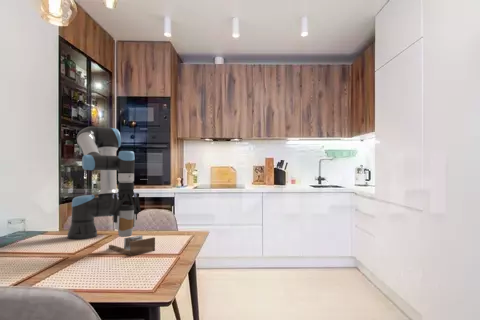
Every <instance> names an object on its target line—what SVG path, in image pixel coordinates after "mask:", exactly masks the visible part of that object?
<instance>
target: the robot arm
mask: <svg viewBox="0 0 480 320" xmlns="http://www.w3.org/2000/svg"><path fill="white" fill-rule="evenodd" d="M76 143H77V145H78V146H79V147H80V148H81V151H82V153H83V155H82V159H81V165H82V169H83V170H85V171H86V170H87V171H88V170H89V171H100V192H98V194H97V196H95V194H85V195H79V196H75V197H73V198H72V200H71V219H70V220H71V223H70V226H69V228H68V229H69V230H68V232H67V239H70V240H85V239H91V238H95V237H97V236H98V231H97V228H96V225H95V218H104V217H112V221H113V223H114V230H116V231H118V230H119V216H117V215H118V213H119V211H120V207H121V206H122V205H124V204H123V203H124V202H127V203H128V205H134V209H135V210H134V218H133V219H134V220H133V228H136V227H137V226H136V224H137V223H136V221H137V220H138V214H139V213H141V212H142V211H141V204H140V203H141V202H140V198H139V197H140V192H134V189H135V183H134V182H135V159H136V158H135V152H134V151H131V150H119V152H118V155H116V152H117V151H118V149H119V148H120V147H121V146H122V145H121V144H122V138H121V133H120V131H119V129H118V128H115V127H113V128H112V127H106V126H105V127H104V126H103V127H101V126H87V127H83V128H82V129H81V130H80V131H79V132H78V133H77V135H76ZM117 172H118V173H117ZM116 173H117V174H116ZM117 175H118V176H117ZM117 180H118V183H117ZM117 190H118V191H117Z"/></svg>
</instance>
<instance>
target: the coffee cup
mask: <svg viewBox="0 0 480 320" xmlns="http://www.w3.org/2000/svg"><path fill="white" fill-rule="evenodd" d="M134 210H135V209H134V205H130V204H122V206H121V207H120V211H119V213H118V215H117V216H119V230H117V232H118V234H117V235H118V237H120V238H129V237H132V235H133V228H134V227H133V220H134V219H133V218H134Z"/></svg>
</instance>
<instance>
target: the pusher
mask: <svg viewBox="0 0 480 320" xmlns="http://www.w3.org/2000/svg"><path fill="white" fill-rule="evenodd" d="M123 238H124V240H123V241H124V242H123V248H124V249H127V250H130V242H132V241H137V240H142V239H143V235H136V236H134V235H133V236H129V237H123Z"/></svg>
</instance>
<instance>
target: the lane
mask: <svg viewBox="0 0 480 320" xmlns="http://www.w3.org/2000/svg"><path fill="white" fill-rule="evenodd" d="M108 249H110V250H112V249H113V251H115V250H116V252H120V253H122V254H126V255H127V256H136V255H141V254H145V253H149V252H154V251H156V237H149V238H144V239H143V238H142V240H137V241H132V242H130V250H127V249H124V247H120V246H117V245H114V244H108Z"/></svg>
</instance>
